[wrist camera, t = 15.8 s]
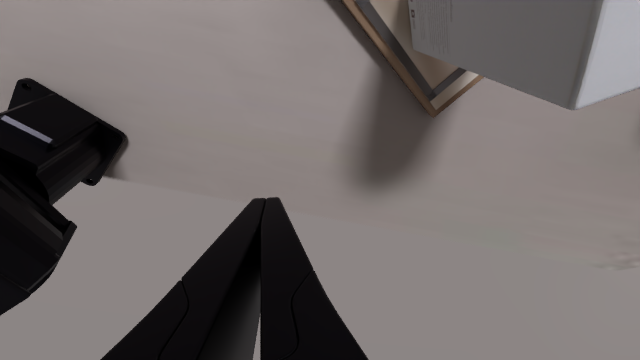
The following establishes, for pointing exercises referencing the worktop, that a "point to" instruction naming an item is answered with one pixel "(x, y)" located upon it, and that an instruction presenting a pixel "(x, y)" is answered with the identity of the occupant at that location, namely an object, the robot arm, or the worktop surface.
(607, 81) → the skincare box
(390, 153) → the worktop surface
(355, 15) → the square tray
